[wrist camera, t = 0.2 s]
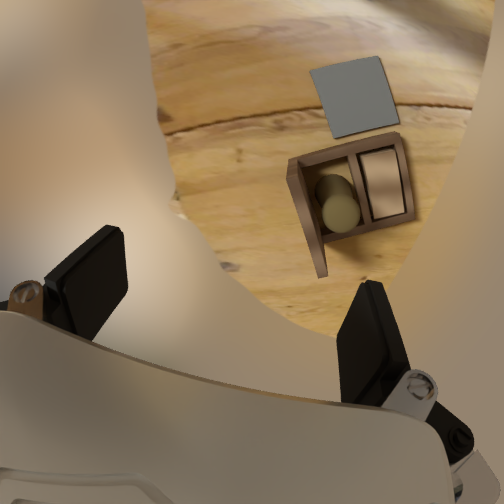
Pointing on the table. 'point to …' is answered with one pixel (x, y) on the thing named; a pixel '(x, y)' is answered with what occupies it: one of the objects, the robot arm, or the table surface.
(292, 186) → the open walnut box
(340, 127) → the slate mat
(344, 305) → the table surface
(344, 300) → the table surface
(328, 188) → the olive pawn
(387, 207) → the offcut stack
